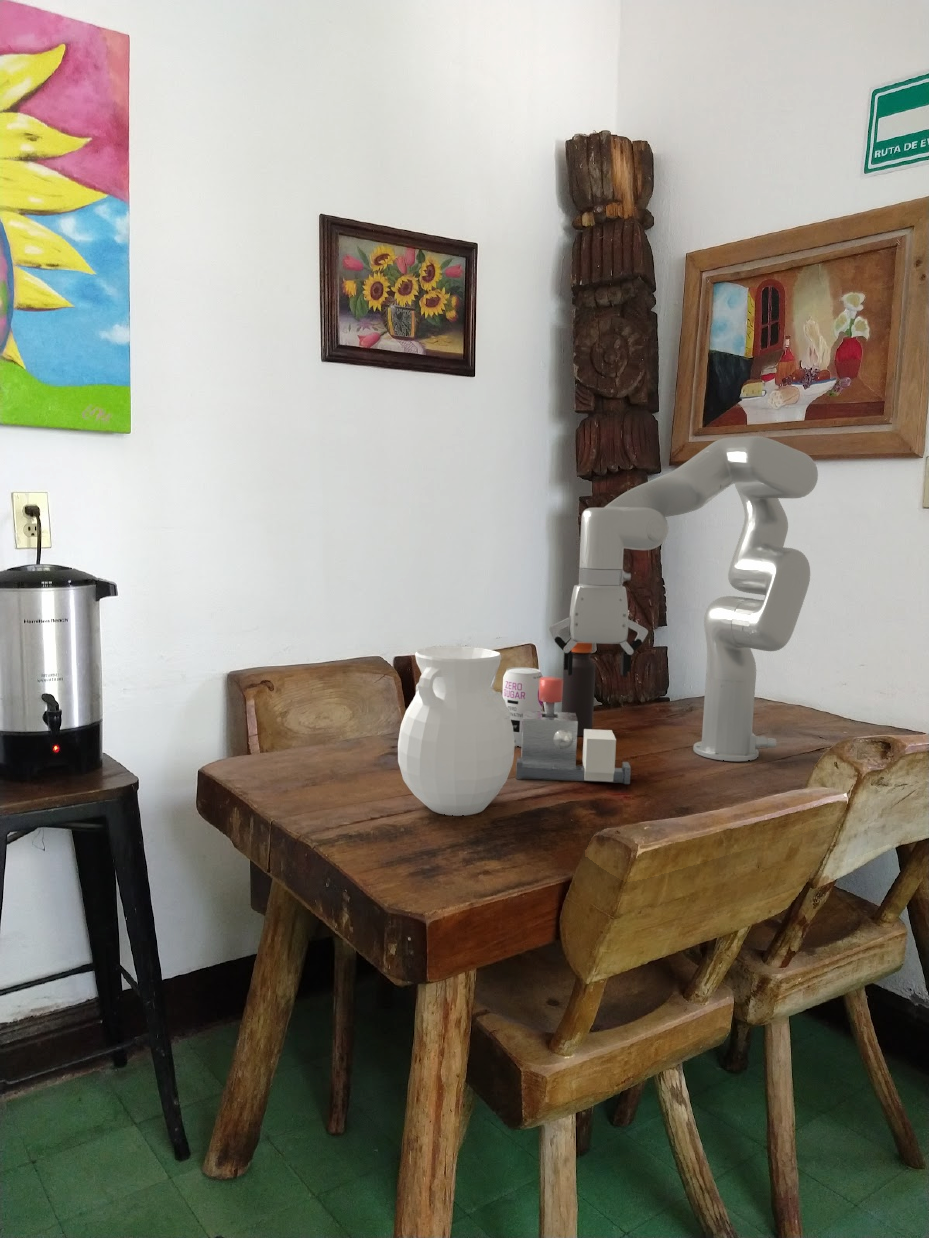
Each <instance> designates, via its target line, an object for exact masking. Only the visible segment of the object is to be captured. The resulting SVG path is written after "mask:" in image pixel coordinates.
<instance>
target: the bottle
mask: <svg viewBox="0 0 929 1238" xmlns="http://www.w3.org/2000/svg"><path fill="white" fill-rule="evenodd" d="M571 652H572V653H573V664H572V675H568V674H567V670H564V669H562V671H563V672H562V673H563V674H562V679H563V694H562V702H561V711H560V712H568V713H575V714H576V717H577V721H578V726H577V737H584V729H593V726H594V724H593V723H594V721H593V720H594V706H595V704H594V701H595V684H596V664H595V663H594V662H593V660H592V659H591V655H592V653H593V643H579V642H578V643H577V644H576V645H575V646H574V647H573V648H572V651H571Z"/></svg>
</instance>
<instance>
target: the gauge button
mask: <svg viewBox="0 0 929 1238" xmlns="http://www.w3.org/2000/svg"><path fill="white" fill-rule="evenodd" d="M562 694H563V678H561V677H555V676H554V677H553V676H543V677H542V678H540V681H539V700H540V701H542V703H545V712H546V716H545V717H548V718H554V712H555V706H556V705H555V703H562Z"/></svg>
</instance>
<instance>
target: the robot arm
mask: <svg viewBox="0 0 929 1238" xmlns="http://www.w3.org/2000/svg"><path fill="white" fill-rule="evenodd" d="M818 477H819V471H818V467H817V464H816V463H815V461H814V459H813V458H812V457H811V456H810V455H808V454H807V453H805V452H803V451H800V450H798V449H796V448H793V447H791V446H789V445H786V444H784V443H781V442H780V441H777V440H774V439H771V438H768V437H766V436H759V435H755V436H754V435H753V436H751V435H749V436H733V437H732V436H731V437H723V438H719V439H718V440H715V441H713V442H712V443H710V444H709V445H708V446H706V447H705V448H703V449H702V450H700V451H699V452H698V453H697V454H695V455H693V456H692V457H691V458H690V459H689V460H687V461H686V462H684V463H683V464H681V465H680V466H678V467H677V468H676V469H674V470H672V471H670V472H668V473H665V474H663V475H660V476H658V477H655V478H654V479H652V480H649V481H646V482H644V483H642V484H639V485H637V486H635V487H632V488H630V490H629V489H628V490H627V491H625V492H624V493H622V494H620V495H618V497H616V498H615V499H613V500H612V501H611V502H609V503H608V504H606V505H605V506H603V507H588V508H586V509H584V510H583V511H582V513H581V519H580V521H581V523H580V540H579V543H580V545H579V570H578V584H575V585H573V589H572V594H571V599H570V607H569V617H566V618H564V619H562V620H560V621H558V622H556V623H554V624H552V625H550V626H548V630H549V632H550V635H551V636H552V639H553V640H554V642H555V644H556V645H557V646H558V647H559V648H560V649H561V651H563V665H562V668H563V669H564V670H567V674H568V675H572V664H573V653H572V652H571V651H572V648H573V647H574V646H575V645H576V644H577V643H578V642H579V643H592V644H604V645H605V644H607V645H608V644H609V645H610V644H611V645H614V644H615V645H616V644H618V645H620V646H621V648H622V652H621V654H620V675H621V676H622V677H623V678H627V677H628V672H631V667H632V665H631V664H632V655H633V654H634V652H635V651H637V649H639V647H641V646H642V644H643V642H644V641H645V639H646V637H647V635H648V634H649V630H648V629H647V628H645V627H643V626H642V625H640V624H638V623H636V622H635V621H633V620H630V619H629V610H628V609H629V606H628V605H629V603H628V597H627V596H628V595H627V589H626V586H623V584H624V583H625V582H626V581H631V577H632V573H631V572H626V571H624V569H623V567H624V549H628V550H635V551H651V550H654V549H657V548H658V547H659V546H661V545H663V543H664V542H665V541H666V540H667V537H668V536H669V535H668V534H669V522H668V520H667V518H668V517H674V516H679V515H684V514H689V513H692V512H694V511H697V510H699V509H702V508H703V507H704V506H706V504H708V503H709V502H711V501H712V500H713V499H714V498H715V497H717V496H718V495H719V494H721V493H722V492H724V491H726V489H728V488H729V487H731V485H734V486H735V487H734V488H735V490H736V492H737V494H738V496H739V498H740V500H741V504H742V506H743V510H744V520H743V525H742V529H741V532H740V534H739V535H740V536H739V538H738V541H737V544H736V547H735V550H734V553H733V556H732V559H731V562H730V566H729V569H728V573H727V574H728V575H727V577H728V582H729V585H730V586H731V587H732V588H734V590H737V591H738V592H739V591H740V592H742V593H747V594H753V595H760V596H761V595H762V596H764V599H756V598H753V597H744V596H734V595H733V596H731V595H728V596H727V595H726V596H721V597H718V598H716V599H714V600H712V602H711V603H709V605H708V606H707V608H706V609H705V612H704V617H703V618H704V619H703V624H704V625H703V626H704V628H703V629H704V632H705V634H704V635H705V643H706V670H705V671H706V674H705V683H704V684H705V685H704V687H705V688H704V698H703V699H704V701H703V716H702V717H703V718H702V731H701V732H702V734H701V740H700V741H697V742H695V743H694V744H693V752H694V753H695V754H697V755H699V756H701V757H704V758H707V759H712V760H718V761H723V760H724V761H723V762H749V761H748V760H750V761H755V760H756V759H758V758H757V757H759V755H760V753H759V749H760V748H766V749H776V748H777V739H776V737H775V738H773V737H772V738H771V737H770V738H769V737H767V736H763V735H762V736H757V735H756V734H755V733H754V732H753V724H754V723H753V722H754V711H755V710H754V709H755V708H754V707H755V694H756V680H757V679H756V678H757V665H756V659H755V656H754V654H753V651H752V649H754V650H757V651H758V650H759V651H764V652H776V651H777V652H778V651H780V650H781V649H783V648H784V647H785V646H787V644H788V643H789V641H790V639H791V637H792V635H793V633H794V631H795V628H796V625H797V622H798V620H799V617H800V613H801V611H802V607H803V605H804V602H805V601H804V600H805V598H806V595H807V592H808V588H809V585H810V582H811V581H810V580H811V567H810V566H811V565H810V562H809V560H808V558H807V556H806V555H805V554H804V553H803V552H802V551H801V550H798V549H796V548H791V547H784V545H785V543H786V538H787V536H788V531H789V522H788V517H787V515H786V511H785V510H784V508H783V506H782V504H781V502H780V500H779V499H802V498H804V497H806V496H808V495H809V494H811V493H812V492H813V490H814V489H815V488H816V486H817V483H818V479H819V478H818ZM567 627H568V636H569V638H568V639H567V640H566V641H565V640H563V638H562V637H561V635H560V634H559V633H560V630H563V629H565V628H567ZM629 629H630V630H633V631H635V632H636V633H637V635H636V637H635V638H634V639H633V640H632V641H631V642H630V643H629V642H628V641H627V640H628V637H629V636H628V635H629ZM563 669H562V670H563Z"/></svg>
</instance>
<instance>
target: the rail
mask: <svg viewBox="0 0 929 1238" xmlns="http://www.w3.org/2000/svg"><path fill="white" fill-rule="evenodd" d="M621 765H622V766H621V767H615V771H614V775H613V782H612V784H613V783H615V784H616V783H617V784H618V783H619V784H623V785H631V770H632V767H631V765H630V763H629V762H628V761H622V764H621ZM515 766H516V767H515V768H516V769H515V771H516V772H515V779H516V780H523V779H529V780H531V779H533V780H546V781H547V780H551V781H553V780H554V781H571V782H572V781H574V782H575V781H577V782H587V781H586V780H584V773H585V769H584V766H583V765H579V766H578V765H576V766H563V765H541V764H523V761H522V757H521V756H520V757H519V756H516V765H515ZM590 782H594V783H609V782H608V781H590Z"/></svg>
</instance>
